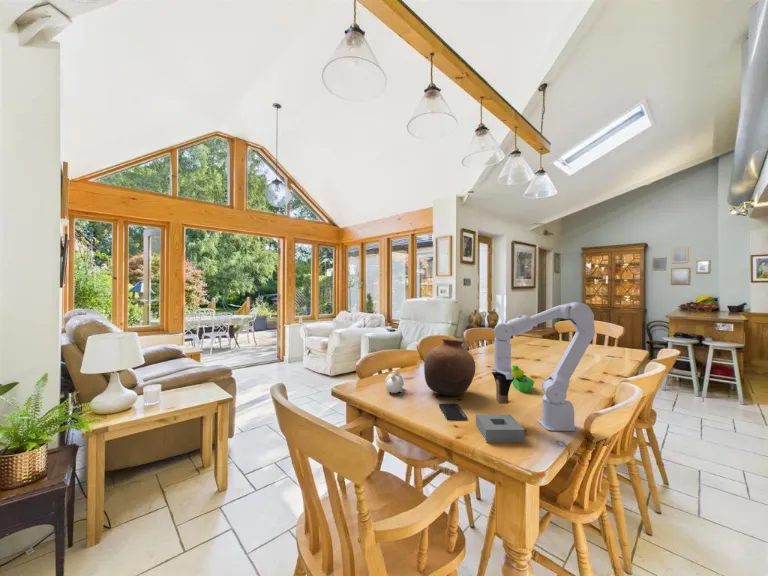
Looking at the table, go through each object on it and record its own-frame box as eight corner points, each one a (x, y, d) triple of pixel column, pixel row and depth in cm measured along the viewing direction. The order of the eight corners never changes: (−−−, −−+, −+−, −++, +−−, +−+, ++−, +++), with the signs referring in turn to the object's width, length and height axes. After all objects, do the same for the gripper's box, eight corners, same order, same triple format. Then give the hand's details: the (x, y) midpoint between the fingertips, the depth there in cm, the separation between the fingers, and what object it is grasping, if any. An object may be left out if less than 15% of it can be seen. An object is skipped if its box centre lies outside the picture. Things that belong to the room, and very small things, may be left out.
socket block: (510, 425, 114) (510, 414, 114) (524, 442, 102) (524, 429, 102) (475, 425, 114) (475, 414, 114) (486, 442, 102) (486, 429, 102)
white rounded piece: (396, 375, 144) (395, 363, 159) (381, 384, 144) (381, 371, 159) (407, 392, 145) (405, 379, 160) (392, 402, 145) (391, 387, 160)
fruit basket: (535, 392, 148) (535, 368, 148) (516, 392, 149) (516, 368, 149) (525, 385, 160) (525, 362, 160) (507, 385, 160) (507, 362, 160)
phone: (457, 403, 134) (467, 418, 119) (457, 406, 134) (467, 421, 119) (438, 403, 133) (446, 418, 118) (438, 406, 133) (446, 421, 118)
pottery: (421, 400, 139) (421, 342, 139) (427, 384, 162) (427, 334, 162) (476, 404, 134) (476, 344, 134) (474, 387, 156) (474, 335, 156)
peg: (505, 400, 120) (505, 378, 120) (508, 403, 117) (508, 381, 117) (496, 400, 120) (496, 378, 120) (499, 403, 117) (499, 381, 117)
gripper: (485, 352, 126) (485, 387, 126) (498, 361, 111) (498, 400, 111) (504, 352, 126) (504, 387, 126) (518, 361, 111) (518, 400, 111)
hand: (502, 393), depth 119 cm, fingers closed on peg, 3 cm apart
